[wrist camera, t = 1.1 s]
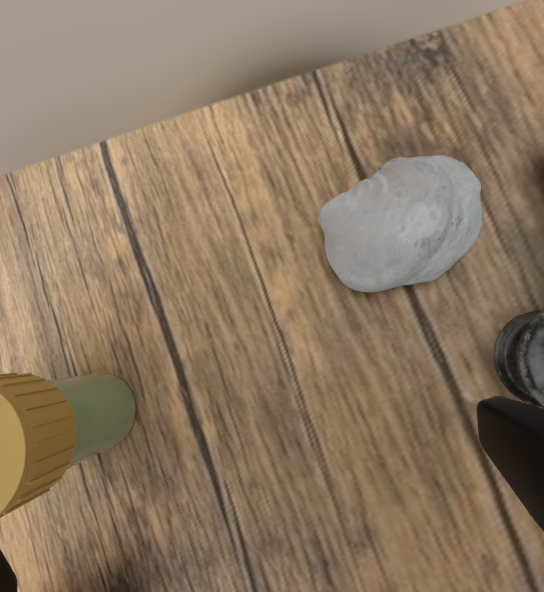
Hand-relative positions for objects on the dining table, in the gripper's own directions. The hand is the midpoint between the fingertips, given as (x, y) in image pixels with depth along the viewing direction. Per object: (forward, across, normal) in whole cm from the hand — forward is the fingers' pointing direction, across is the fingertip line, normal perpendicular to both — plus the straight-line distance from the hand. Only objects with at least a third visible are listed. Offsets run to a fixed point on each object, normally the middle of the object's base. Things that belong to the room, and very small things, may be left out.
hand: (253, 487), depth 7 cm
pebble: (+17, -10, 0) cm, 20 cm away
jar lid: (+11, +11, +4) cm, 16 cm away
